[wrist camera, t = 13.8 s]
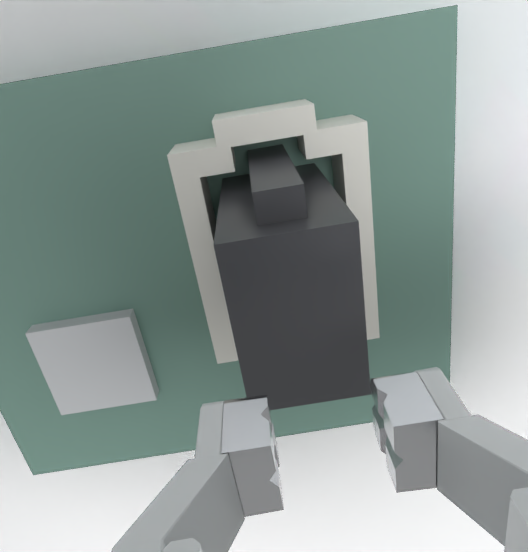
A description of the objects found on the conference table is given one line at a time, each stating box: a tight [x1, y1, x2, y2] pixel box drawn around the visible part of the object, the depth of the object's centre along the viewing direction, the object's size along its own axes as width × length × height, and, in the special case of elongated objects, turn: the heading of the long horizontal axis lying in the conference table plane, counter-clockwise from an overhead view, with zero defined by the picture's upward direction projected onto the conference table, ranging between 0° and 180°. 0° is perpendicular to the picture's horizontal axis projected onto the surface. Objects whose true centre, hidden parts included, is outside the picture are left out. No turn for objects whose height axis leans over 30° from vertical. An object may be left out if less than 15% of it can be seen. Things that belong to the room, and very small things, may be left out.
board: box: [0, 5, 458, 475], centre depth 21 cm, size 24×20×4 cm
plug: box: [214, 144, 371, 410], centre depth 17 cm, size 4×7×8 cm, turn 9°
